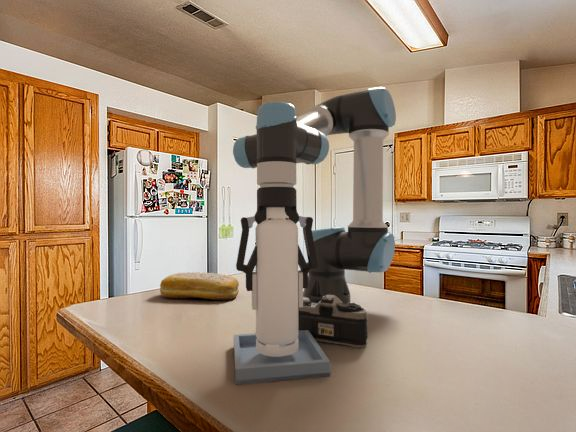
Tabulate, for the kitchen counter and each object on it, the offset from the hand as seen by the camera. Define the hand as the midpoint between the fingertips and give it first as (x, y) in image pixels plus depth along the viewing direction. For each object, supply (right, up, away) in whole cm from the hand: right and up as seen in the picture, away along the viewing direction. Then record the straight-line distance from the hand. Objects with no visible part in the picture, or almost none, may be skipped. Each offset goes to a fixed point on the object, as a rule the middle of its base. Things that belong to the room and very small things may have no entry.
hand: (277, 306), depth 64 cm
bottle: (0, -8, 0) cm, 8 cm away
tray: (0, -10, 0) cm, 10 cm away
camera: (+12, -10, +12) cm, 20 cm away
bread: (-28, -10, +50) cm, 58 cm away
